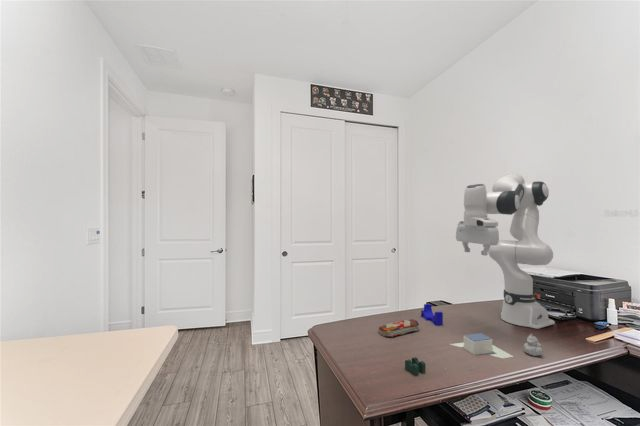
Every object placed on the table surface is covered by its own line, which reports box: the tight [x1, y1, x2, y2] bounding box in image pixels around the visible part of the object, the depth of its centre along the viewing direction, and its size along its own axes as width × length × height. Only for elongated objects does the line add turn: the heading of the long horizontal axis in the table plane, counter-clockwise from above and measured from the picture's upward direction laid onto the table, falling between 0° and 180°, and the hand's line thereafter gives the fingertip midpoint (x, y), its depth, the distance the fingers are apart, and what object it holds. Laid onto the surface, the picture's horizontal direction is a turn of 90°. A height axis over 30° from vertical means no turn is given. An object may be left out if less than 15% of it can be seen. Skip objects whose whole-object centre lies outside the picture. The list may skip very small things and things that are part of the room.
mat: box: [449, 341, 514, 359], centre depth 100 cm, size 18×13×1 cm
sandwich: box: [378, 318, 420, 338], centre depth 116 cm, size 11×20×5 cm, turn 104°
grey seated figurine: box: [523, 333, 543, 357], centre depth 99 cm, size 5×7×8 cm
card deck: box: [463, 332, 493, 356], centre depth 100 cm, size 5×8×5 cm, turn 103°
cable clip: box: [420, 303, 444, 327], centre depth 130 cm, size 12×4×6 cm, turn 5°
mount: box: [404, 356, 426, 377], centre depth 86 cm, size 11×4×5 cm, turn 119°
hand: (475, 253), depth 117 cm, fingers open, 8 cm apart
